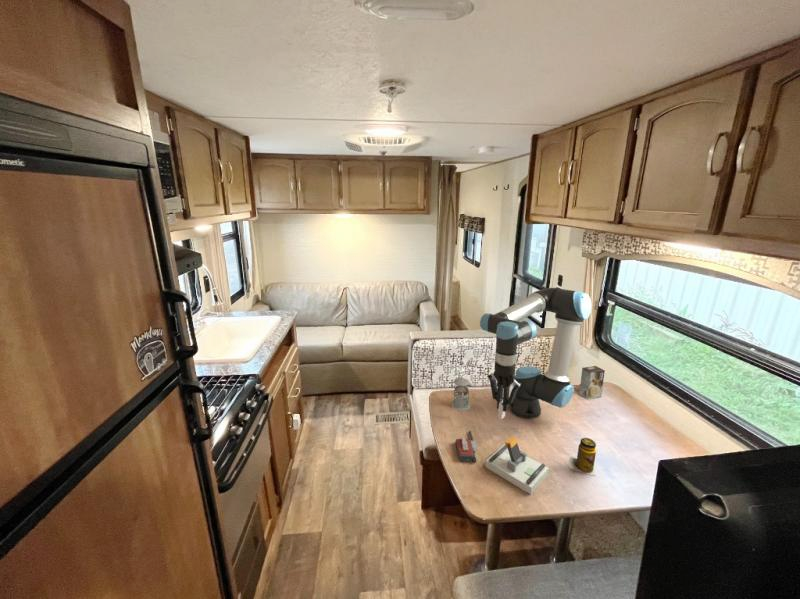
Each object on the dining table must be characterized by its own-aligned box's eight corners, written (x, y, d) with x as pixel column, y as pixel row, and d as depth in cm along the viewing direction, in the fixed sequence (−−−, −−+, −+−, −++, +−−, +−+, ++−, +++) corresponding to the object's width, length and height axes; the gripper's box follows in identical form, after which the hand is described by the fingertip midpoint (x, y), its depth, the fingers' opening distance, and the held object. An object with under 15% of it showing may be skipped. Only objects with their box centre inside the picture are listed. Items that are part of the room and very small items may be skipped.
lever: (518, 459, 135) (512, 436, 136) (524, 460, 133) (517, 436, 134) (511, 466, 131) (504, 442, 132) (516, 467, 130) (509, 443, 130)
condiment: (594, 476, 130) (598, 449, 127) (569, 468, 134) (573, 442, 131) (594, 464, 137) (598, 438, 134) (570, 457, 140) (574, 432, 137)
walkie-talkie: (480, 464, 137) (472, 433, 157) (481, 455, 136) (472, 425, 156) (459, 464, 138) (453, 433, 157) (459, 455, 137) (453, 425, 156)
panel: (503, 450, 145) (504, 438, 143) (547, 474, 131) (549, 461, 130) (485, 467, 136) (486, 454, 134) (530, 494, 122) (532, 480, 121)
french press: (449, 408, 177) (450, 364, 170) (454, 397, 187) (456, 355, 181) (468, 412, 173) (470, 367, 167) (472, 400, 183) (474, 358, 177)
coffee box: (592, 391, 191) (596, 365, 187) (601, 397, 185) (605, 370, 181) (578, 393, 189) (582, 367, 185) (587, 399, 183) (591, 372, 179)
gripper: (484, 360, 130) (482, 414, 136) (516, 370, 121) (512, 428, 127) (494, 354, 135) (491, 406, 141) (526, 364, 127) (521, 419, 132)
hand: (501, 417), depth 134 cm, fingers closed
